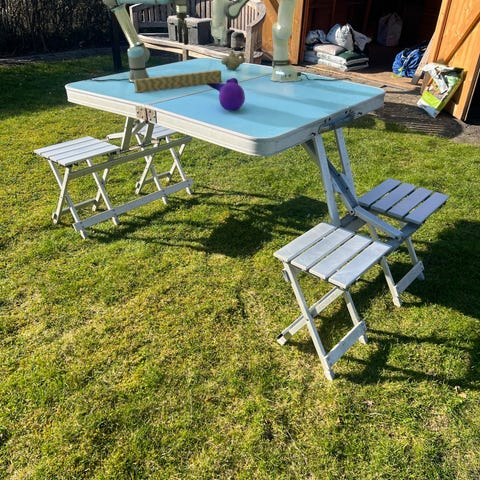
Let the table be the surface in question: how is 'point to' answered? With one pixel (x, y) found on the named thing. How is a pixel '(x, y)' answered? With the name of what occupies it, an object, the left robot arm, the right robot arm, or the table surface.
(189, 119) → the table surface
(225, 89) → the toy
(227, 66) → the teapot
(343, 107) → the table surface
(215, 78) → the bar
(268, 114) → the table surface
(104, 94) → the table surface
